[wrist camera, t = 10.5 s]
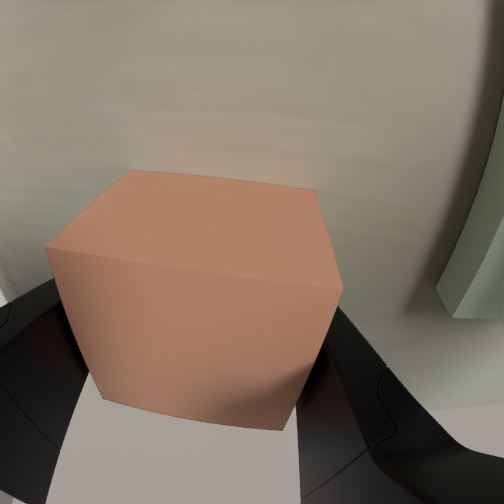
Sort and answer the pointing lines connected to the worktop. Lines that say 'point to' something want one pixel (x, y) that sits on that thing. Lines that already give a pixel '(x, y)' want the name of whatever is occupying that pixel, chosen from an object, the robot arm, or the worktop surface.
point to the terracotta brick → (199, 295)
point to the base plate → (480, 247)
